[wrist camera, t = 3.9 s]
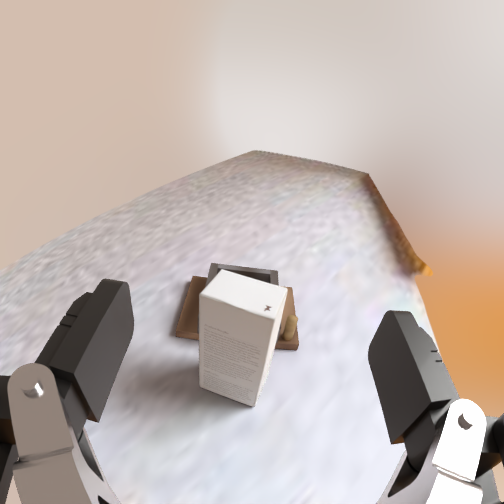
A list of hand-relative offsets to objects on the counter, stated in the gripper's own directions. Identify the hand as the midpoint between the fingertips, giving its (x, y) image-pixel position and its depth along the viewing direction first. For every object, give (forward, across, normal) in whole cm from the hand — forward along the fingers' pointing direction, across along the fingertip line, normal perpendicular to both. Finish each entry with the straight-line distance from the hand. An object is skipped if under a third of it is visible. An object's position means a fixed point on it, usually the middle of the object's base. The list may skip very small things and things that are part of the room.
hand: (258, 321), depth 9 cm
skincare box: (+12, 0, -20) cm, 24 cm away
